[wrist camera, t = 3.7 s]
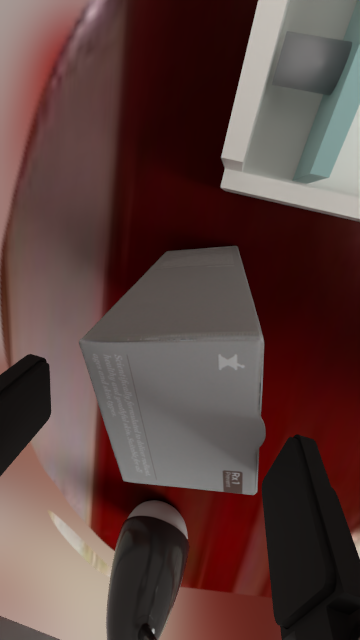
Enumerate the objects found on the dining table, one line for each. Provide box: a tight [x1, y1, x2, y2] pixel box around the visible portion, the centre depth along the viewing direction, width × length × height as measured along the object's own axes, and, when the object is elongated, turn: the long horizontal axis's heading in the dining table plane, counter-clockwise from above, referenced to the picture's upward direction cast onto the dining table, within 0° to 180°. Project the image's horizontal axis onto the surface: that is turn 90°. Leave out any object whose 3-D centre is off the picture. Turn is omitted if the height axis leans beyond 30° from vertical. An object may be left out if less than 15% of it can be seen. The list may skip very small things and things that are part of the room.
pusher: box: [272, 0, 360, 184], centre depth 13 cm, size 4×10×5 cm, turn 168°
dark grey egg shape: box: [106, 500, 189, 640], centre depth 33 cm, size 10×10×15 cm
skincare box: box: [79, 246, 265, 495], centre depth 16 cm, size 8×7×16 cm
